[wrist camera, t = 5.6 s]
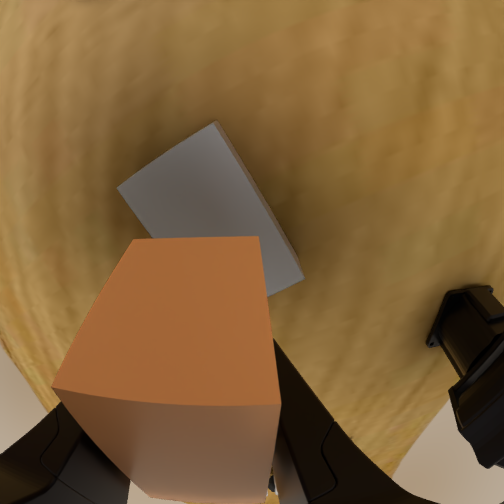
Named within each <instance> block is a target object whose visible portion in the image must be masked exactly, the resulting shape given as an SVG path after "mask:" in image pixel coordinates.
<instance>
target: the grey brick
mask: <svg viewBox="0 0 504 504" xmlns="http://www.w3.org/2000/svg"><path fill="white" fill-rule="evenodd" d="M117 190H118V191H119V192H120V194H121V195H122V197H123V198H124V200H125V201H126V202H127V204H128V205H129V207H130V208H131V209H132V211H133V212H134V214H135V215H136V216H137V218H138V219H139V220H140V222H141V223H142V224H143V226H144V227H145V229H146V230H147V231H148V233H149V234H150V235H151V237H152V238H191V237H237V236H259V242H260V249H261V256H262V263H263V270H264V277H265V285H266V292H267V297H269V296H271V295H273V294H275V293H277V292H279V291H281V290H283V289H285V288H288V287H290V286H292V285H294V284H296V283H298V282H300V281H302V280H304V279H305V277H304V274H303V271H302V268H301V265H300V262H299V259H298V257H297V255H296V253H295V251H294V249H293V248H292V246H291V244H290V242H289V240H288V239H287V237H286V235H285V233H284V232H283V230H282V228H281V226H280V225H279V223H278V221H277V219H276V218H275V216H274V214H273V212H272V211H271V209H270V207H269V205H268V204H267V202H266V200H265V199H264V197H263V195H262V193H261V192H260V190H259V188H258V187H257V185H256V183H255V182H254V180H253V178H252V177H251V175H250V173H249V171H248V170H247V168H246V166H245V165H244V163H243V161H242V160H241V158H240V156H239V155H238V153H237V152H236V150H235V148H234V147H233V145H232V143H231V142H230V140H229V138H228V137H227V135H226V134H225V132H224V130H223V129H222V127H221V125H220V124H219V122H218V121H217V120H216V121H214V122H212V123H211V124H209V125H207V126H206V127H204V128H202V129H201V130H199V131H197V132H196V133H194V134H192V135H191V136H189V137H188V138H186V139H185V140H183V141H181V142H180V143H178V144H177V145H175V146H174V147H172V148H171V149H169V150H168V151H166V152H165V153H163V154H162V155H160V156H159V157H157V158H156V159H154V160H153V161H151V162H150V163H149V164H147V165H146V166H144V167H143V168H142V169H140V170H139V171H137V172H136V173H135V174H133V175H132V176H131V177H129V178H128V179H127V180H126V181H124V182H123V183H122V184H121V185H119V186H118V187H117Z"/></svg>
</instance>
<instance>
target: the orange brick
mask: <svg viewBox="0 0 504 504" xmlns="http://www.w3.org/2000/svg"><path fill="white" fill-rule="evenodd" d="M51 387H52V389H53V390H54V392H55V393H56V395H57V396H58V397H59V399H60V400H61V402H62V403H63V404H64V406H65V407H66V408H67V410H68V411H69V412H70V414H71V415H72V416H73V417H74V419H75V420H76V421H77V422H78V424H79V425H80V426H81V427H82V429H83V430H84V431H85V432H86V433H87V435H88V436H89V437H90V438H91V439H92V440H93V441H94V443H95V444H96V445H97V446H98V447H99V448H100V449H101V450H102V451H103V453H104V454H105V455H106V456H107V457H108V458H109V459H110V460H111V461H112V462H113V463H114V464H115V465H116V466H117V467H118V468H119V469H120V470H121V471H122V472H123V473H124V474H125V475H126V476H127V477H128V478H129V479H130V480H131V481H132V482H133V483H135V484H136V485H137V486H138V487H139V488H140V489H141V490H142V491H144V492H145V493H146V494H147V495H148V496H149V497H151V498H158V499H165V500H173V501H183V502H195V503H215V504H253V503H265V500H266V495H267V489H268V484H269V478H270V473H271V467H272V461H273V455H274V449H275V443H276V436H277V430H278V423H279V416H280V410H281V398H280V390H279V382H278V375H277V367H276V359H275V352H274V344H273V337H272V329H271V322H270V314H269V307H268V299H267V292H266V285H265V277H264V270H263V263H262V256H261V249H260V242H259V236H237V237H191V238H153V239H133V241H132V242H131V244H130V245H129V247H128V248H127V250H126V251H125V253H124V254H123V256H122V258H121V259H120V261H119V262H118V264H117V265H116V267H115V269H114V270H113V272H112V274H111V275H110V277H109V278H108V280H107V282H106V283H105V285H104V287H103V288H102V290H101V292H100V294H99V295H98V297H97V299H96V300H95V302H94V304H93V306H92V307H91V309H90V311H89V313H88V315H87V316H86V318H85V320H84V322H83V324H82V326H81V327H80V329H79V331H78V333H77V335H76V337H75V339H74V341H73V343H72V345H71V346H70V348H69V350H68V352H67V354H66V356H65V358H64V360H63V363H62V365H61V367H60V369H59V371H58V373H57V375H56V377H55V379H54V382H53V384H52V386H51Z"/></svg>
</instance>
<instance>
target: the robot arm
mask: <svg viewBox="0 0 504 504" xmlns="http://www.w3.org/2000/svg"><path fill="white" fill-rule="evenodd" d="M492 293H493V288H492V287H491V286H485V287H479V288H472V289H464V290H457V291H450V292H449V293H447V295H446V296H445V299H444V302H443V304H442V307H441V309H440V312H439V314H438V317H437V319H436V321H435V324H434V326H433V328H432V331H431V333H430V335H429V337H428V340H427V342H426V345H427V347H428V348H431V347H436V346H441V347H442V349H443V350H444V352H445V354H446V355H447V357H448V359H449V360H450V362H451V364H452V365H453V367H454V369H455V370H456V372H457V374H458V375H459V377H460V380H459V381H458V382H457V383H456V384H455V385H454V386H452V387H451V388H450V389H449V390H448V392H449V396H450V400H451V404H452V408H453V411H454V415H455V419H456V423H457V427H458V431H459V432H460V433H461V435H462V436H463V437H464V438H465V439H466V440H467V441H468V442H469V443H470V444H471V446H472V448H473V450H474V452H475V455H476V457H477V460H478V462H479V464H481V465H482V466H484V467H485V468H487V469H489V468H491V467H492V466H493V465H497V466H499V467H501V468H504V307H503V306H502V305H501V303H500V302H499V301H498V300H497V299H496V298H495V297H494V296H493V295H492ZM273 344H274V352H275V359H276V367H277V375H278V382H279V390H280V398H281V410H280V416H279V423H278V430H277V436H276V443H275V449H274V455H273V461H272V468H273V473H274V478H275V483H276V487H277V492H278V497H279V502H280V504H439V503H436V502H433V501H430V500H426V499H423V498H420V497H418V496H415V495H413V494H411V493H409V492H407V491H406V490H404V489H403V488H401V487H400V486H399V485H398V484H396V483H395V482H394V481H393V480H392V479H391V478H390V477H389V476H388V475H386V474H385V473H384V472H383V471H382V470H381V469H380V468H379V467H378V466H377V465H376V464H374V463H373V462H372V461H371V460H370V459H369V458H368V457H367V456H366V455H365V454H364V453H363V452H362V451H361V450H360V449H359V448H358V447H357V446H356V445H355V444H354V443H353V442H352V440H351V439H350V438H349V437H348V436H347V434H346V433H345V432H344V431H343V430H342V428H341V427H340V426H339V424H338V423H337V422H336V421H334V418H333V417H332V416H331V414H330V413H329V412H328V410H327V409H326V408H325V407H324V405H323V404H322V403H321V401H320V400H319V399H318V397H317V396H316V395H315V393H314V392H313V391H312V389H311V388H310V387H309V385H308V384H307V383H306V381H305V380H304V379H303V377H302V376H301V375H300V373H299V372H298V371H297V369H296V368H295V367H294V365H293V364H292V363H291V361H290V360H289V359H288V357H287V356H286V355H285V353H284V352H283V350H282V349H281V348H280V346H279V345H278V344H277V342H276V341H275V340H274V339H273ZM129 486H130V479H129V478H128V477H127V476H126V475H125V474H124V473H123V472H122V471H121V470H120V469H119V468H118V467H117V466H116V465H115V464H114V463H113V462H112V461H111V460H110V459H109V458H108V457H107V456H106V455H105V454H104V453H103V451H102V450H101V449H100V448H99V447H98V446H97V445H96V444H95V443H94V441H93V440H92V439H91V438H90V437H89V436H88V435H87V433H86V432H85V431H84V430H83V429H82V427H81V426H80V425H79V424H78V422H77V421H76V420H75V419H74V417H73V416H72V415H71V414H70V412H69V411H68V410H67V408H66V407H65V406H64V404H63V403H62V402H60V403H59V404H58V405H57V406H56V408H54V409H53V410H52V411H51V412H50V413H49V414H48V415H47V416H46V417H44V418H43V419H42V420H41V421H40V422H39V423H38V424H37V425H36V426H35V427H34V428H32V429H31V430H30V431H29V432H28V433H26V434H25V435H24V436H23V437H21V438H20V439H19V440H18V441H16V442H15V443H14V444H13V445H11V446H10V447H9V448H8V449H6V450H5V451H4V452H3V453H1V454H0V504H127V500H128V493H129ZM500 504H504V502H502V503H500Z"/></svg>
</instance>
